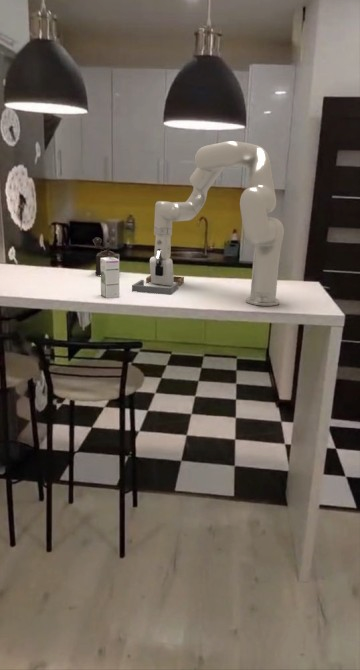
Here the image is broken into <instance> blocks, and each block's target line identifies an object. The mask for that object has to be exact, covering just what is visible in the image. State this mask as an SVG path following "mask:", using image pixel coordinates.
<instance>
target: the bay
mask: <svg viewBox="0 0 360 670" xmlns="http://www.w3.org/2000/svg"><path fill="white" fill-rule="evenodd" d="M178 289H179V286H178V282H174V284H173V285H171V286H170V287H163V286H153V285H152V286H149V285H145V280H144V279H140V280H138V281H137V282H135V283H134V284H132V285H131V291H132V292H133V291H137V292H136V293H145V292H147V293H148V294H157V293H158V295H159V294H160V295H172V294H173V293H175V292H176V291H177V290H178ZM147 293H146V294H147Z"/></svg>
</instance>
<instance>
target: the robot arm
mask: <svg viewBox="0 0 360 670" xmlns="http://www.w3.org/2000/svg"><path fill="white" fill-rule="evenodd" d="M194 163H195V166H196V168H195V169H194V171H193V173H192V174H191V175H190V177H189V182H190V184H191V186H192V187H193V189H192V192H191V193H190V196H189V197H188V198H187V200H185V201H176V202H175V201H173V202H171V201H168V200H167V201H166V200H165V201H164V200H157V201H156V203H155V205H154V224H153V225H154V227H153V235H154V236H155V240H154V252H153V253H154V256H153V257H155V259H156V267H155V275H156V276H163V267H162V266H163V259H164V260H166V259H167V257H168V258H170V259H171V255H172V254H171V247H172V246H171V245H172V242H171V241H172V240H171V238H172V235H173V222H185V221H186V222H187V221H192V220H193V219H194V218H195V217H196V216H197V215H198V214H199V213H200V211H201V209H203V207H204V205H205V204H206V200H207V197H208V191H209V190H210V188H211V187H212V185H213V184H214V182H215V181H216V180H217V179H218V177H219V175H220V174H221V173H222V172H223V170H224V169H225V168H227V167H235V168H247V169H248V173H247V175H248V176H247V178H248V185H249V187H248V188H246V189H245V190H243V192H242V193H241V196H240V199H239V209H240V217H241V220H242V221H241V223H242V227H243V232H244V236H245V238H246V240H247V241H248V243H249V244H251V245H253V246H254V252H253V259H252V272H251V281H250V282H251V283H250V284H251V285H250V295H249V296H247V297H246V298H245V302H246V303H248V304H251V305H254V306H263V307H272V306H273V307H274V306H278V305H280V300H279V299H278V298H277V288H278V287H277V285H278V277H279V265H280V258H281V257H280V256H281V249H282V244H283V240H284V235H285V230H284V229H285V228H284V225H283V223H282V221H280V220H279V219H278V218H276V217H271V216H270V217H269V216H268V214H269V213H272V212H273V211H274V210H275V209H276V206H277V195H276V190H275V185H274V179H273V174H272V166H271V160H270V156H269V154H268V152H267V151H266V150H265V149H264V148H263V147H262V146H260V145H257V144H253V143H250V142H244V141H243V142H242V141H237V140H229V141H228V140H226V141H223V142H218V143H212V144H209V145H208V144H207V145H205V146H202V147H200V148H199V149H198V150H197V152H196V153H195V156H194ZM160 258H162V259H160Z"/></svg>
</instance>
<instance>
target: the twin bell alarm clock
mask: <svg viewBox="0 0 360 670" xmlns="http://www.w3.org/2000/svg"><path fill="white" fill-rule="evenodd" d="M102 241H103V240H102V238H100V237H97V236H96V237H95V238H93V239H92V242H93V243H94V248H95V249H97V250H98V249H100V252H98V253H97V254H96V256H95V273H94V274H95V276H96V275H101V262H100V259H101V258H105V257H113V258H116V259H119V260H120V254H119V253H115V252H114V251H111V250H110V244H111V243H110V239H109V238H108V239H106V246H104V247H102V246H101V243H102ZM102 250H103V251H102Z"/></svg>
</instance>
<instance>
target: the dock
mask: <svg viewBox="0 0 360 670" xmlns="http://www.w3.org/2000/svg"><path fill="white" fill-rule="evenodd" d="M173 276H174V283H176V282H177V283H178V287H181V286H182V285H183V284H184V283H185V277H184V276H177V275H176V276H175V275H173ZM145 279H146V280H145V284H147V283H149V282H150V283H151V274H150V275H148V276H147V277H146V278H145ZM150 283H149V284H150Z"/></svg>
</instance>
